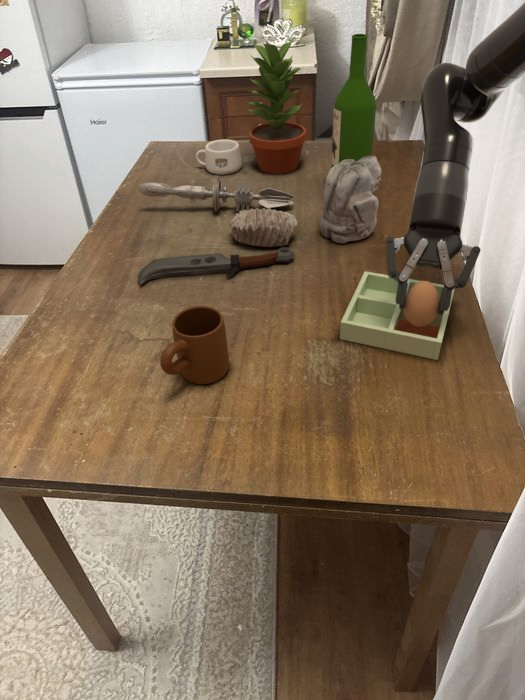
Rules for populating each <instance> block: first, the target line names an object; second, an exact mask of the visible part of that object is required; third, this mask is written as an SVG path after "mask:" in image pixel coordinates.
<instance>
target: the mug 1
mask: <svg viewBox="0 0 525 700" xmlns="http://www.w3.org/2000/svg"><path fill="white" fill-rule="evenodd" d="M171 328H172V338H173V342H170V343H169V344H168V345H167V346H165V348H163V351H162V352H161V355H160V359H159V360H160V361H159V363H160V367H161V369H162V371H163V372H164V373H165V374H166V375H169V376H170V375H171V376H174V375H178V374H180V373H181V375H182V377H183V378H184V379H185V380H187V382H190V383H192V384H196V385H209V384H212V383H215V382H218V381H219V380H221V379H222V378H224V377H225V376H226V374H227V372H228V370H229V369H230V368H229V367H230V358H229V357H230V356H229V348H228V339H227V332H226V331H227V330H226V324H225V320H224V317H223V314H222V313H221V311H219V310H217V309H216V308H214V307H211V306H206V305H196V306H195V305H194V306H191V307H188V308H185V309H183V310H181V311H180V312H178V313H177V314H176V315H174V317H173V319H172V323H171ZM175 355H176V357H177V359H175V360H174V361H173V358H174V357H175Z"/></svg>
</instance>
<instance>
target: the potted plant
mask: <svg viewBox="0 0 525 700" xmlns="http://www.w3.org/2000/svg"><path fill="white" fill-rule="evenodd" d="M293 41H294V37H293V38H292V39H291V41H288V42H285V43H283V44H282V45H281V47H280V48H279V49H278V47H277V46H276V45H275V44H271V43H269V42H268V41H267V40H265V43H264V44H263V45H260V44H255V42H252V43H253V46H254V48H255V50H256V51H257V52H258V54H259V55H260V57H254V56H252V55H250V57H251V58H252V59H253V61H254V62H255V63H256V64H257V65H258V66H259V67H258V72H259V75H260V77H261V79H262V80H261V79H251V78H250V77H249V79H250V81H251V82H252V83H253V84H255V85H256V87H259V88H260V89H261V90H262V91H260V90H258V89H252V90H249V89H248V91H249V92H251V93H252V94H254V95H257V96H260V97H261V98H263V99H265V100H267V101H269V103H270V104H269V105H270V106H268V105H266V104H264V103H261V102H258V101H250V102H249V101H246V103H248V104H250V105H252V106H253V107H256V108H257V109H256V108H255V109H250V108H247V110H248V111H249V112H250V113H251V114H252V115H253V114H254V115H255V116H257V117H259V118H261V119H263V120H265V121H267V122H266V123H265V122H264V123H260V124H258V125H255V126H253V127H252V128H250V129H249V131H248V138H249V144H251V147H252V149H253V152H254V155H255V159H256V161H257V165H258V168H259V169H260V171H262V172H264V173H268V174H272V175H273V174H274V175H281V174H287V173H291V172H293V171H295V170H296V169H297V168H298V166H299V163H300V159H301V155H302V150H303V147H304V144H305V142H306V141H307V128H306V127H305V126H303V125H301V124H300V123H295V122H291V121H290V122H289V119H290V118H292V117H293V116H294V115H295V114H296V113H297V112H299V110H300V109H301V106H302V105H303V103H300V104H299V105H292V106H291V107H288V108H287V109H286V110H285V111H284V107H285V104H286V103H287V102H288V101H289V100H291V98H293V97H294V96H296V94H297V93H299V92H300V91H301V89H299V90H298V89H297V90H294V91H293V92H292V93H289V92H290V90H289V87H290V85H291V82H292V80H293V76H294V75H295V74H296V73H298V72H299V71H301V69H303V68H304V66H302V67H295V68H293V69H292V67H293V66H292V64H293V62H294V60H293V55H291V56H290V58H285V56H286V55H287V53H288V52H289V49H290V47H292V44H293ZM284 58H285V59H284Z"/></svg>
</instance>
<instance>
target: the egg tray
mask: <svg viewBox="0 0 525 700" xmlns="http://www.w3.org/2000/svg"><path fill="white" fill-rule="evenodd" d="M421 281H422V280H417V279H411V278H409V280H408V281H407V283H408V287H407V292H406V295H407V294H408V292H409V291H410V289H411V288H412V287H413V286H414V285H415V284H416V283H418V282H421ZM431 283H432V284H433V285H434V286H435V288H436V289H437V292H438V295H439V300H440V298H441V292H442V289H443V288H444V285H443V284H440V283H435V282H431ZM397 288H398V282H397V281H395V280H393V279H390V278H389V277H388V274H384V273H377V272H373V271H366V270H365V271H364V272H363V274H362V276H361V278H360V280H359V283H358V285H357V287H356V289H355V291H354V293H353V294H352V297H351V300H350V301H349V304H348V306H347V308H346V310H345V312H344V314H343V317H342V319H341V321H340V328H339V340H342V341H347V342H352V343H356V344H361V345H366V346H369V347H370V346H371V347H375V348H380V349H384V350H389V351H392V352H397V353H403V354H407V355H410V356H411V355H412V356H415V357H422V358H426V359H431V360H435V361H438V360H439V357H440V352H441V348H442V344H443V339H444V336H445V331H446V327H447V323H448V319H449V315H450V310H451V306H452V303H453V297H454V293H455V289H453V290H452V295H451V302H450V307H449V308H448V310H447V311H444V313H443V315H442V314H437V316H436V317H435V319H434V320H433V321H432V322H431V323H430V324H429V325H427V326H424V327H415V326H413V325H412V324H410V323H409V322H408V320H407V319H406V317H405V314H404V309H400V308H399V304H396V294H397Z"/></svg>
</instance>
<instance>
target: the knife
mask: <svg viewBox="0 0 525 700" xmlns="http://www.w3.org/2000/svg"><path fill="white" fill-rule="evenodd" d="M229 257H230V258H229ZM229 257H227V256H225V255H224V254H223V253H220V252H217V253H216V252H215V253H205V254H191V255H180V256H172V257H162V258H154V259H153V260H152V261H150V262H149V263H148V264H146V265H145V266H144V267H142V269H140V271H139V273H138V274H137V279H138V283H139V285H143V284H144V283H146V282H148V281H150V280H155V279H162V278H171V277H183V276H196V275H210V274H211V275H212V274H222V273H223V274H224V273H225V275H226V276H225V277H226V278H228V277H231V276H233V275H234V274H237V273H240V272H241V269H250V268H251V269H252V268H258V267H259V268H260V267H264V266H269V265H272V264H276V263H278V262H280V263H287V262H289V261H291V260H292V259H293V258H294V257H295V256H294V251H292V250H291V248H289V247H287V246H281V247H280V248H279V249H277V250H275V252H270V253H266V254H258V255H249V256H240V254H230V255H229Z"/></svg>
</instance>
